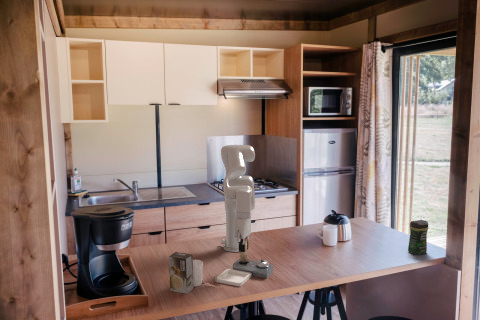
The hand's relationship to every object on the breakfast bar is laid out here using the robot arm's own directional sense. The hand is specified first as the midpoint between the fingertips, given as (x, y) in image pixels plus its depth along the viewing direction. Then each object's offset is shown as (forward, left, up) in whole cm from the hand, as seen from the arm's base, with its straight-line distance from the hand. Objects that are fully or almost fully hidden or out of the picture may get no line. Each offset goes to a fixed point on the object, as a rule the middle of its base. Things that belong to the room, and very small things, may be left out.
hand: (243, 250), depth 200 cm
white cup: (-15, -22, -12) cm, 29 cm away
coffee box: (-17, -30, -12) cm, 36 cm away
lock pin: (0, 0, -6) cm, 6 cm away
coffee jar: (+77, +66, -12) cm, 102 cm away
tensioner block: (+5, 0, -11) cm, 12 cm away
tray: (0, -11, -11) cm, 16 cm away
